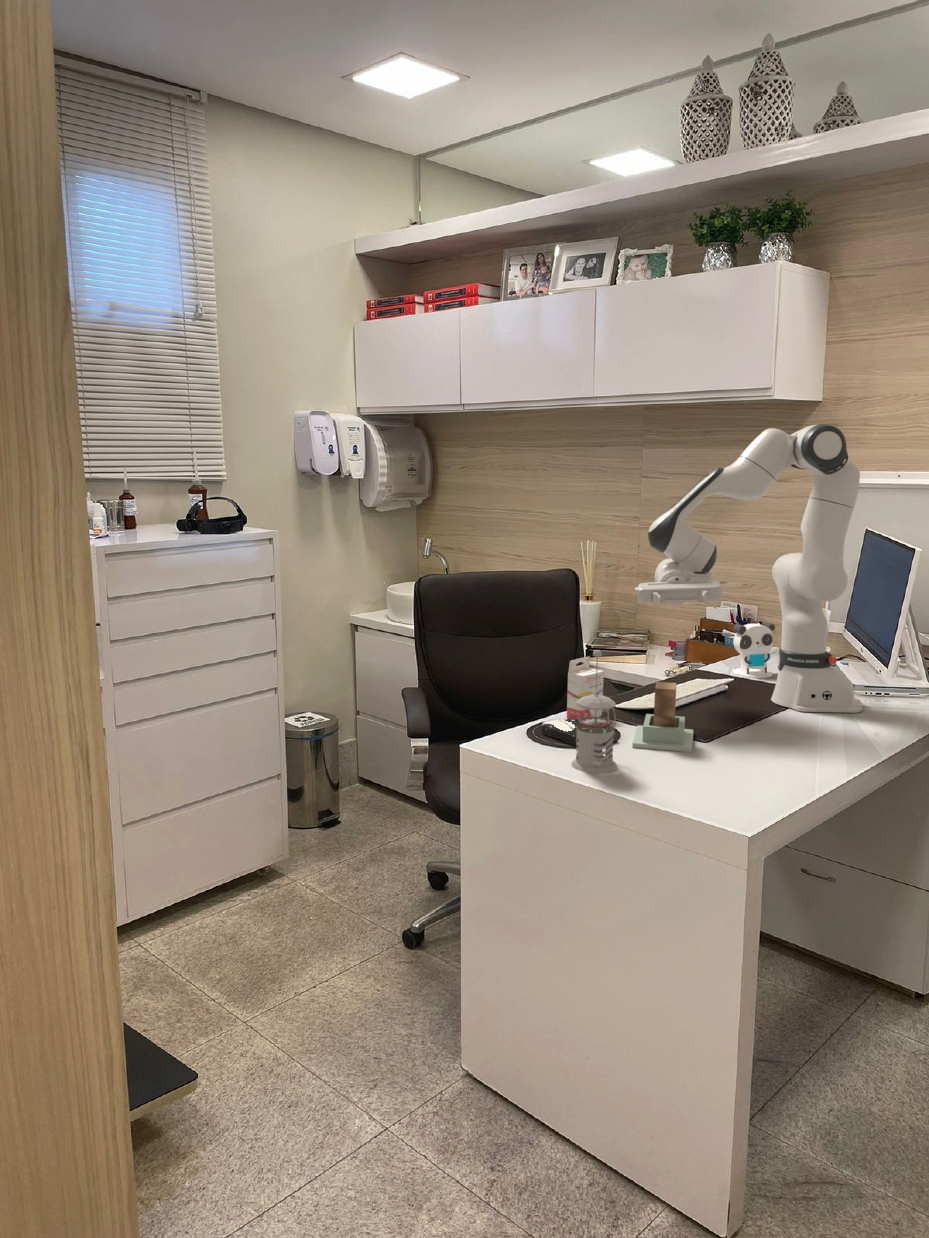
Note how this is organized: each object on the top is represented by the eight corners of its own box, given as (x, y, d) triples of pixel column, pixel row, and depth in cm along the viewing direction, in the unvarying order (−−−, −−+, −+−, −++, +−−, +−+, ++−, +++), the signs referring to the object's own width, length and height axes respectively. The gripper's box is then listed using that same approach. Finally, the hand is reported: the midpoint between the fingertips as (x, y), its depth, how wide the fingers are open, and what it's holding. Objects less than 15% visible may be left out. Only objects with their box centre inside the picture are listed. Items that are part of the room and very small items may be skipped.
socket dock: (693, 733, 221) (694, 715, 220) (691, 752, 208) (692, 732, 207) (637, 729, 224) (638, 711, 224) (632, 747, 211) (633, 728, 210)
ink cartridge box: (581, 722, 230) (583, 664, 227) (566, 718, 233) (567, 660, 231) (603, 715, 236) (604, 658, 233) (587, 711, 239) (589, 655, 236)
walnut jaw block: (674, 733, 218) (676, 683, 216) (673, 740, 213) (675, 689, 210) (654, 731, 219) (656, 681, 217) (652, 739, 214) (655, 688, 211)
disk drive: (540, 736, 221) (585, 751, 209) (540, 725, 221) (586, 739, 209) (572, 728, 227) (617, 742, 216) (572, 717, 227) (618, 731, 215)
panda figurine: (743, 679, 272) (746, 628, 270) (723, 670, 283) (726, 621, 280) (780, 676, 275) (783, 626, 272) (759, 667, 286) (762, 619, 283)
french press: (561, 765, 199) (564, 650, 195) (591, 752, 208) (594, 641, 203) (601, 776, 193) (605, 657, 188) (630, 761, 202) (634, 648, 197)
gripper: (633, 575, 237) (637, 588, 224) (716, 572, 235) (725, 585, 222) (634, 599, 239) (637, 614, 226) (716, 596, 237) (724, 611, 223)
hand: (681, 600), depth 224 cm, fingers open, 8 cm apart
